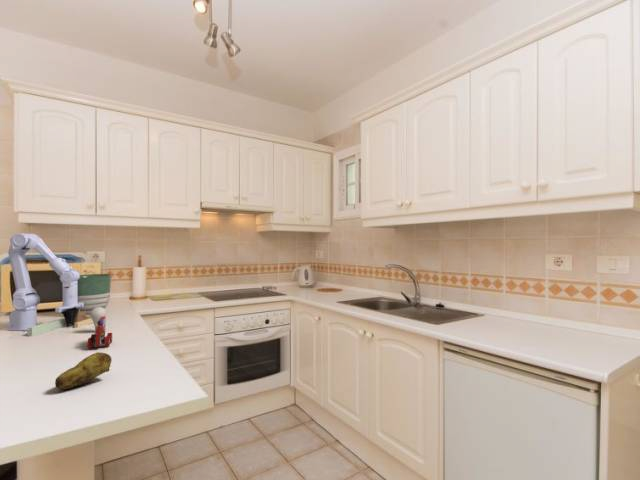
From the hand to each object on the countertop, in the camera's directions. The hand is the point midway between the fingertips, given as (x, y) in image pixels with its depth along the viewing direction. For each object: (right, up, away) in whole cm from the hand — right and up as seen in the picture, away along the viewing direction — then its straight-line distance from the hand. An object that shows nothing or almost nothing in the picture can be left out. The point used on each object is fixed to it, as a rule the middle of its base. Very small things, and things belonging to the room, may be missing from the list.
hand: (70, 324), depth 161 cm
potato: (+52, -1, -65) cm, 83 cm away
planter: (-9, -1, +27) cm, 29 cm away
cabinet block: (0, -1, +4) cm, 4 cm away
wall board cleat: (-1, -1, -4) cm, 4 cm away
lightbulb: (+20, -1, -10) cm, 22 cm away
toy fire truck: (+33, -1, -30) cm, 45 cm away
